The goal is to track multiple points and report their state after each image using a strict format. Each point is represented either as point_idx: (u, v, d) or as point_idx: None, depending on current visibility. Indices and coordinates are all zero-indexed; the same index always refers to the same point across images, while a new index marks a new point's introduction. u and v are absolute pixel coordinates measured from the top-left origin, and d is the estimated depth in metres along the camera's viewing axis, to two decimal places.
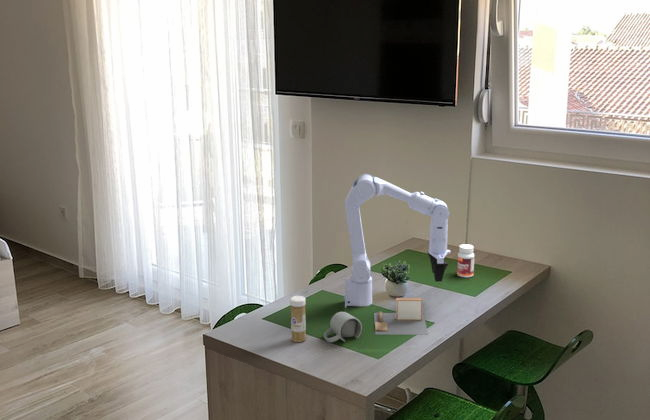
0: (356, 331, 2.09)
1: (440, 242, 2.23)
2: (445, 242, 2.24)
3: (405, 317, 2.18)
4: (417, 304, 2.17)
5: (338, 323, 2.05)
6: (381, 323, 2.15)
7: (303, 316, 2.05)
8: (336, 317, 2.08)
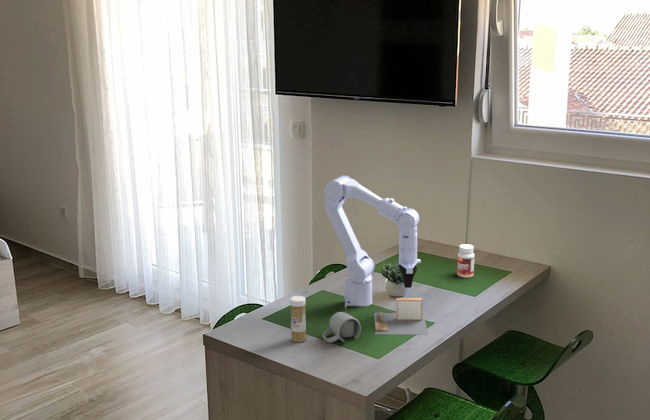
0: (355, 331, 2.09)
1: (409, 251, 2.19)
2: (415, 251, 2.20)
3: (405, 317, 2.18)
4: (417, 304, 2.17)
5: (337, 323, 2.05)
6: (381, 323, 2.15)
7: (303, 316, 2.05)
8: (335, 318, 2.08)
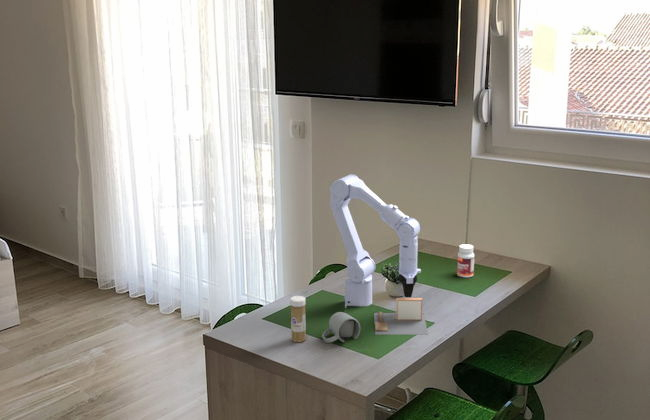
0: (354, 331, 2.09)
1: (410, 261, 2.18)
2: (415, 261, 2.19)
3: (405, 317, 2.18)
4: (417, 304, 2.17)
5: (336, 323, 2.05)
6: (381, 323, 2.15)
7: (303, 316, 2.05)
8: (335, 318, 2.08)
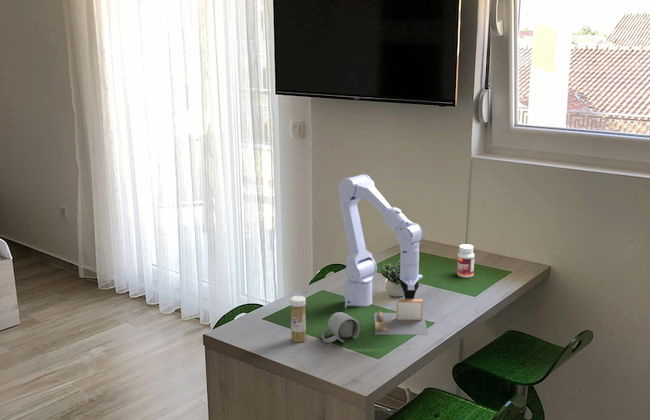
0: (354, 331, 2.08)
1: (411, 267, 2.13)
2: (416, 267, 2.14)
3: (405, 318, 2.18)
4: (417, 305, 2.16)
5: (336, 323, 2.05)
6: (381, 323, 2.15)
7: (303, 316, 2.05)
8: (334, 318, 2.08)
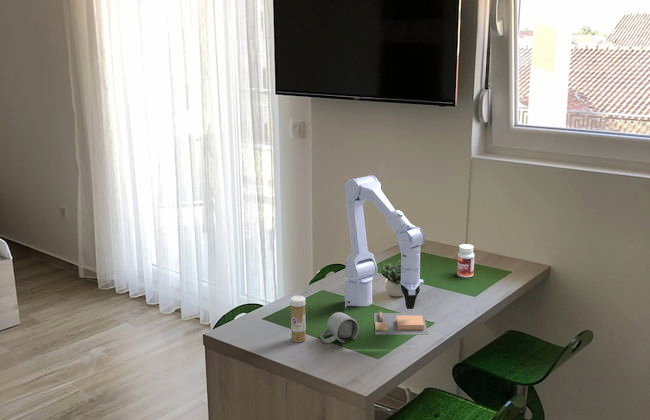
0: (353, 332, 2.08)
1: (412, 272, 2.09)
2: (417, 272, 2.10)
3: None
4: None
5: (335, 323, 2.05)
6: (381, 323, 2.15)
7: (303, 316, 2.05)
8: (333, 318, 2.07)
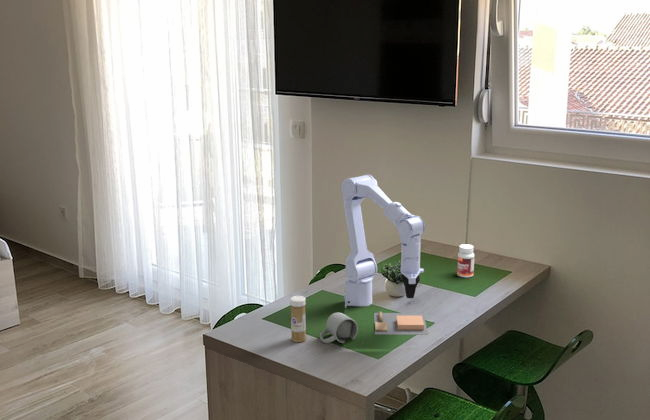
0: (352, 332, 2.08)
1: (412, 261, 2.08)
2: (417, 261, 2.09)
3: None
4: None
5: (334, 324, 2.05)
6: (381, 323, 2.15)
7: (303, 316, 2.05)
8: (332, 318, 2.07)
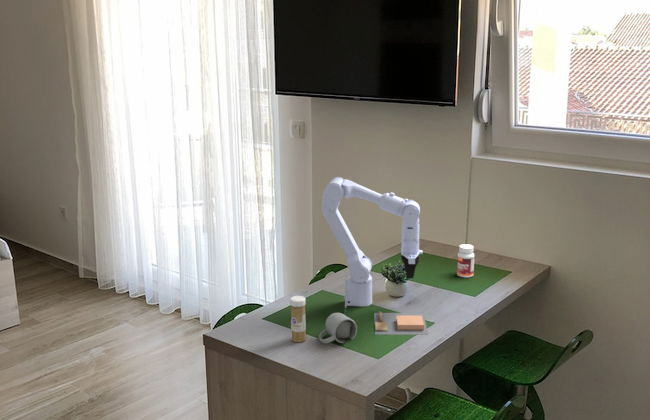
0: (351, 332, 2.08)
1: (412, 242, 2.22)
2: (417, 242, 2.23)
3: None
4: None
5: (333, 324, 2.05)
6: (381, 323, 2.15)
7: (303, 316, 2.05)
8: (331, 318, 2.07)
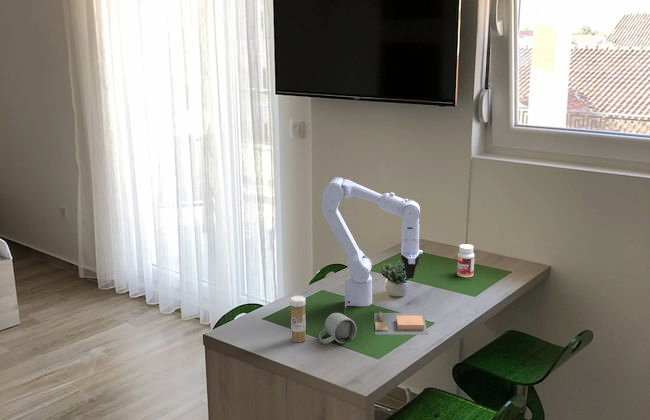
0: (351, 332, 2.08)
1: (412, 242, 2.22)
2: (417, 242, 2.23)
3: None
4: None
5: (332, 324, 2.05)
6: (381, 323, 2.15)
7: (303, 316, 2.05)
8: (331, 318, 2.07)
